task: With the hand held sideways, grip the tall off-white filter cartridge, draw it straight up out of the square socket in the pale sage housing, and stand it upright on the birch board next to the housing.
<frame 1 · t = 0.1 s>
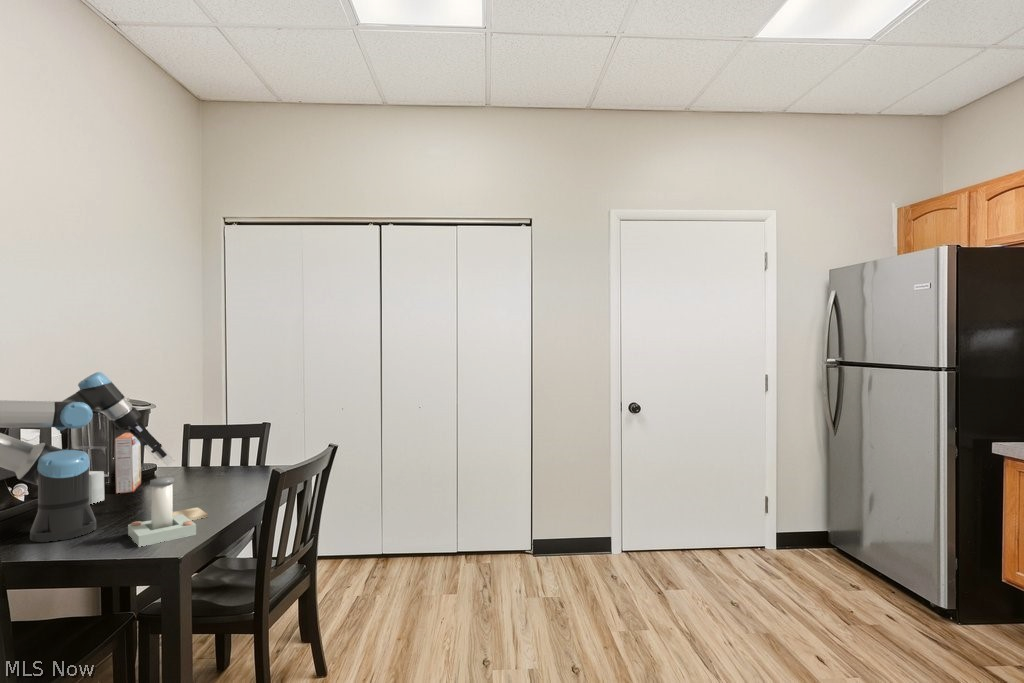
hand: (165, 460, 192), 15 cm above the table, tool tilted 35°, fingers open, 13 cm apart
housing: (162, 534, 160), on the table
cracker box: (128, 489, 213), on the table
small box: (87, 503, 194), on the table
cartridge: (162, 534, 160), resting in housing
board: (183, 517, 177), on the table
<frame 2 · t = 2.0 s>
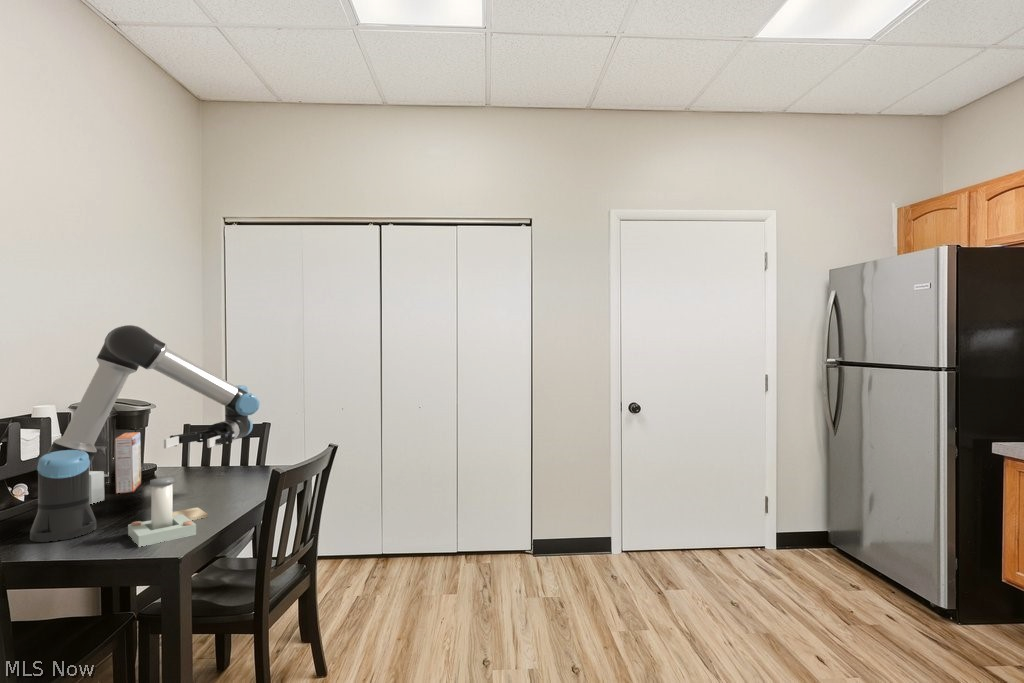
hand: (186, 443, 173), 24 cm above the table, tool horizontal, fingers open, 13 cm apart
nothing on the table moved.
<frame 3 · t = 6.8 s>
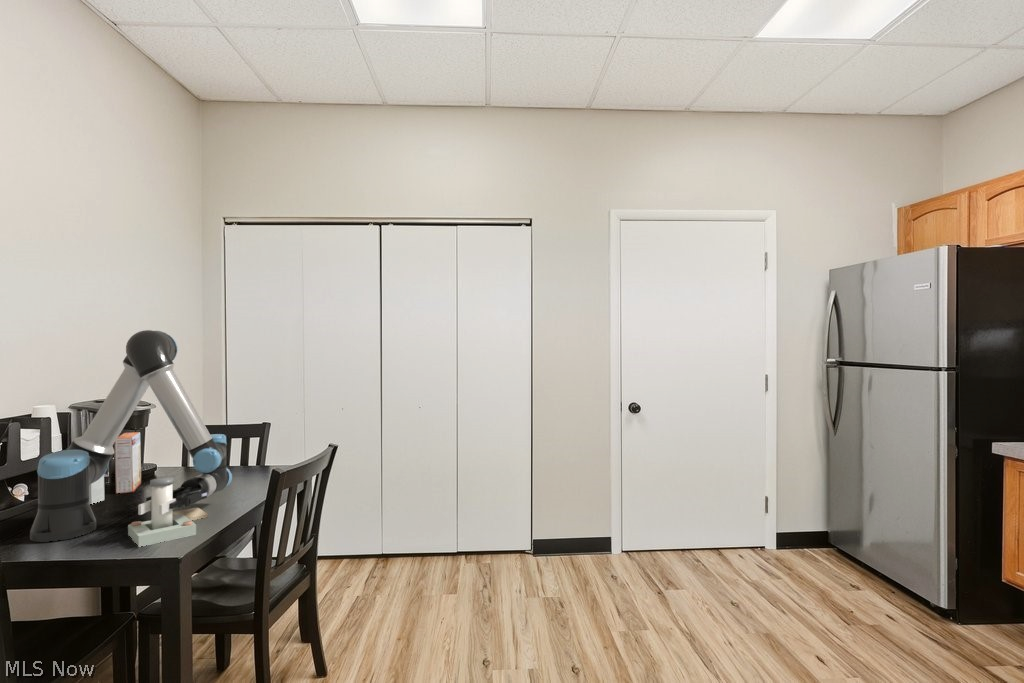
hand: (150, 509, 155), 9 cm above the table, tool horizontal, fingers closed on cartridge, 5 cm apart
cartridge: (162, 534, 160), resting in housing, touching gripper
everything else where it was.
when the fingers open (11 cm above the table, at t = 11.7 s): cartridge drops 1 cm, resting on board.
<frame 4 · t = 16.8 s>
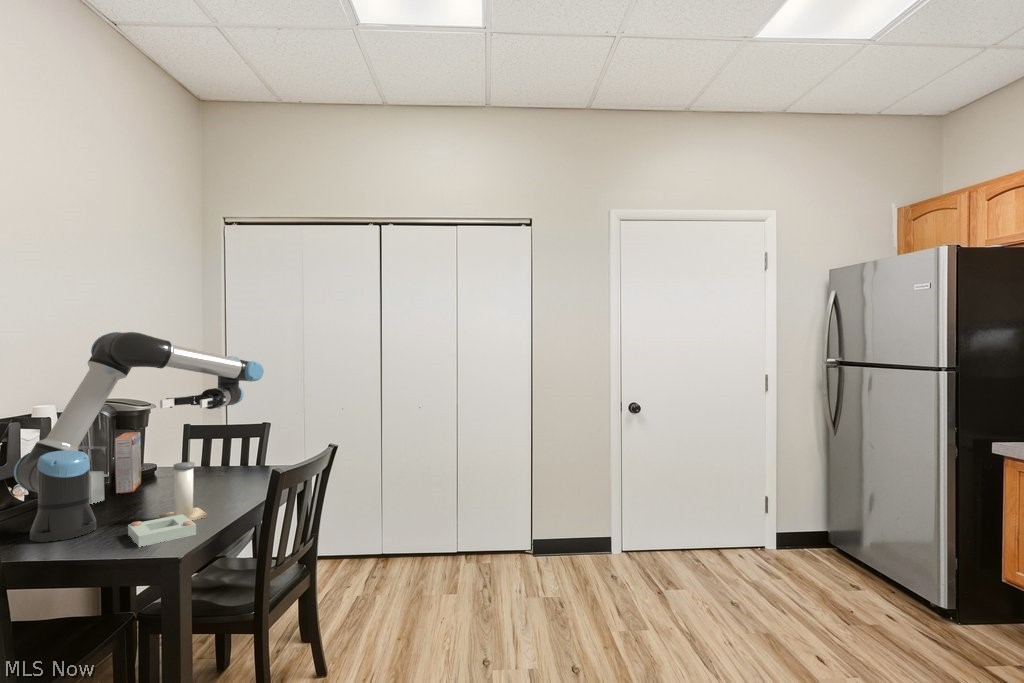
hand: (181, 404, 188), 35 cm above the table, tool horizontal, fingers open, 13 cm apart
cartridge: (183, 514, 177), point 1 cm above the table, touching board
everything else where it was.
at the end: cartridge 0.0 cm off-centre on the board, point 1.0 cm above the board's base; cartridge tilted 1°; the gripper is holding nothing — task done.
